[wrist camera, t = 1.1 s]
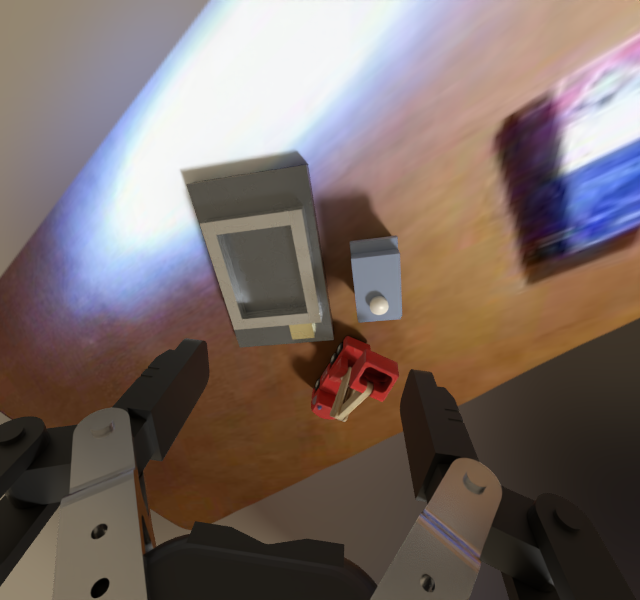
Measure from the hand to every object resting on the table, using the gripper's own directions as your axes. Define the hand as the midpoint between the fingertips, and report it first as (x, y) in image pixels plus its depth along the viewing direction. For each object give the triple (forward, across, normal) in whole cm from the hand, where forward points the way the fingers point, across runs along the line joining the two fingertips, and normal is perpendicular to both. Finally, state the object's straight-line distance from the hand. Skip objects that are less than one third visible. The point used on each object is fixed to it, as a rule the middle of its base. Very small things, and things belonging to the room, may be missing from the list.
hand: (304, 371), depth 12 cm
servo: (+20, -5, +3) cm, 21 cm away
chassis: (+20, +6, +4) cm, 21 cm away
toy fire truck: (+20, -3, +15) cm, 25 cm away
